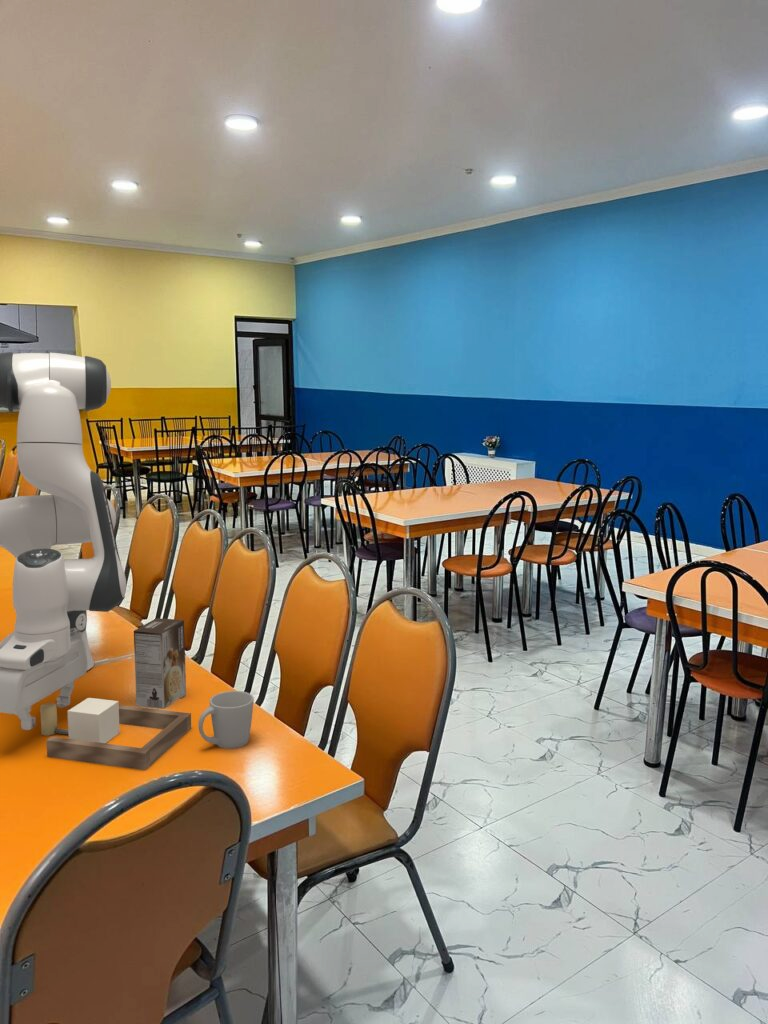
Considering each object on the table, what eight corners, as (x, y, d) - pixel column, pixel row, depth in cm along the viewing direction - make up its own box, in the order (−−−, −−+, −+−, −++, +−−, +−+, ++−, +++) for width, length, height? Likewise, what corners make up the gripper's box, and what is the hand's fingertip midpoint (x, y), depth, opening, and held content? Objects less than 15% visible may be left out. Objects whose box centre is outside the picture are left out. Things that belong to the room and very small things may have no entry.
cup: (262, 746, 130) (262, 700, 129) (210, 763, 124) (209, 715, 123) (240, 731, 136) (240, 687, 135) (189, 747, 130) (188, 700, 128)
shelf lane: (47, 760, 124) (46, 740, 123) (103, 721, 139) (102, 702, 139) (145, 774, 120) (144, 753, 119) (191, 732, 135) (191, 713, 135)
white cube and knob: (31, 738, 130) (30, 706, 129) (54, 724, 136) (52, 693, 135) (99, 747, 127) (98, 714, 126) (119, 732, 133) (118, 701, 132)
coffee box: (158, 691, 154) (156, 616, 151) (187, 694, 152) (185, 619, 150) (135, 709, 145) (132, 630, 142) (165, 712, 143) (163, 632, 141)
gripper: (65, 623, 141) (68, 692, 143) (-15, 660, 121) (-10, 739, 123) (94, 626, 139) (97, 696, 142) (18, 664, 120) (23, 744, 122)
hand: (46, 716), depth 132 cm, fingers open, 8 cm apart
